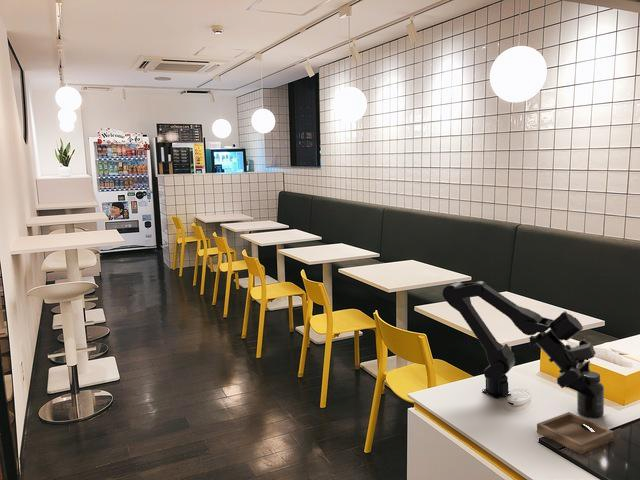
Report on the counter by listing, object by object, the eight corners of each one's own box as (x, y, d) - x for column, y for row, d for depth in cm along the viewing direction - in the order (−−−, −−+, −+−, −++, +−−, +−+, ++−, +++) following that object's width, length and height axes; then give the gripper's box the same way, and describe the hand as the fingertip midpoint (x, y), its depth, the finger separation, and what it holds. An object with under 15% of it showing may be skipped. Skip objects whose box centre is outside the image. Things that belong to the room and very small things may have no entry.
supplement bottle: (597, 408, 151) (598, 369, 149) (607, 419, 144) (609, 378, 143) (573, 408, 152) (574, 369, 150) (582, 419, 145) (583, 378, 143)
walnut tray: (536, 432, 139) (537, 423, 138) (568, 420, 144) (569, 411, 144) (580, 454, 127) (580, 445, 127) (613, 440, 133) (613, 431, 133)
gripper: (570, 342, 140) (615, 390, 135) (582, 325, 155) (623, 367, 150) (539, 365, 145) (581, 411, 140) (554, 345, 160) (592, 386, 155)
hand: (596, 392), depth 146 cm, fingers closed on supplement bottle, 7 cm apart
